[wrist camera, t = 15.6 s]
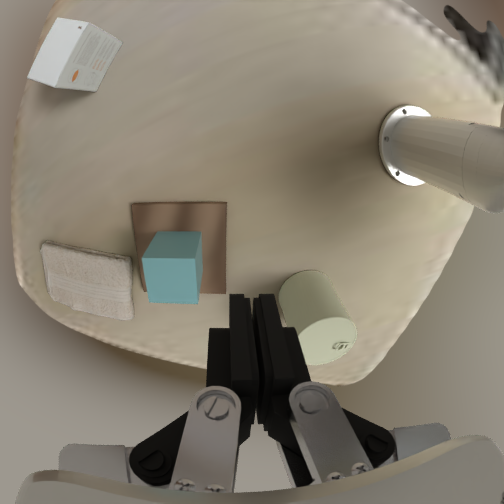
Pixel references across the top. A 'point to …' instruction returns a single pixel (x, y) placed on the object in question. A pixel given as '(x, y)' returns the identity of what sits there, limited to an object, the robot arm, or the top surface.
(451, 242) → the top surface
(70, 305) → the washcloth
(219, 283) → the post board
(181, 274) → the teal block
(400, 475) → the robot arm
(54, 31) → the small box
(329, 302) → the can
